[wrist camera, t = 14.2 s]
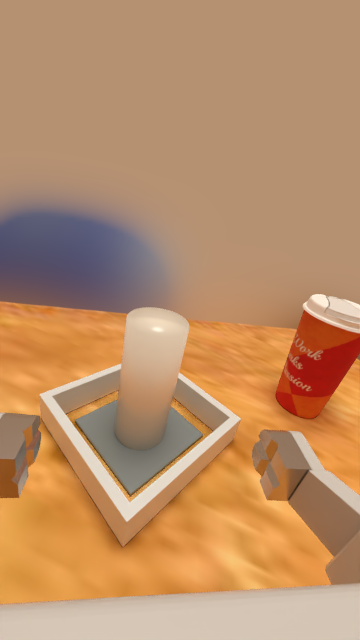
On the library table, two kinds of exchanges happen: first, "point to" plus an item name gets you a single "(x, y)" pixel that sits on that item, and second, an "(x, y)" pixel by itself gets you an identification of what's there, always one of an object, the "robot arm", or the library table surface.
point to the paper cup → (319, 354)
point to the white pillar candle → (148, 375)
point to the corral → (131, 463)
